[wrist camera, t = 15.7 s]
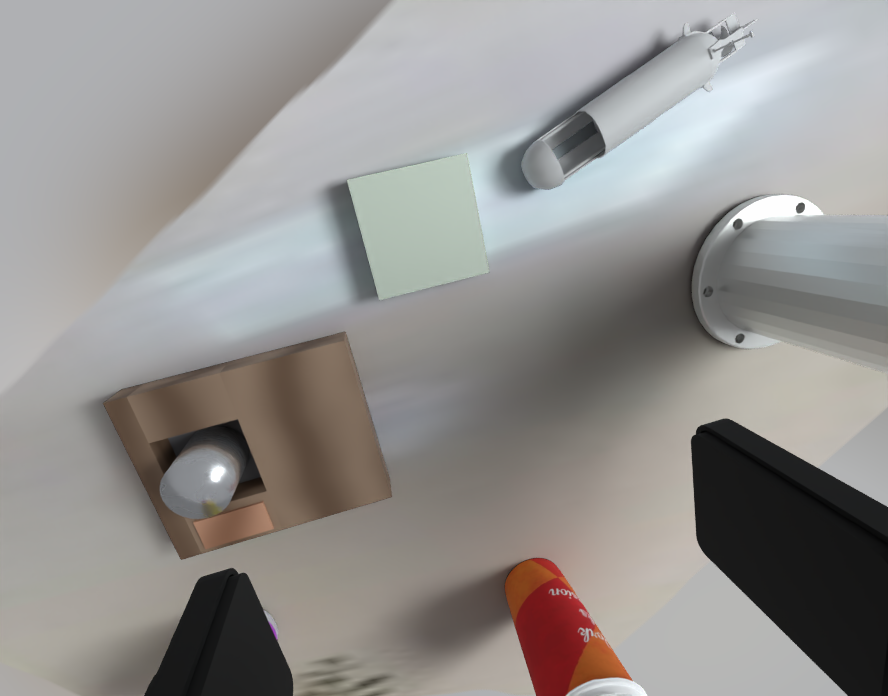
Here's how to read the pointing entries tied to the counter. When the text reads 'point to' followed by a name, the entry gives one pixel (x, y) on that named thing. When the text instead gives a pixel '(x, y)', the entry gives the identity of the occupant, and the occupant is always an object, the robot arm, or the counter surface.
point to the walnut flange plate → (261, 439)
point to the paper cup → (562, 636)
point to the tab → (420, 225)
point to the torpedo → (633, 103)
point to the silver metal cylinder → (205, 472)
